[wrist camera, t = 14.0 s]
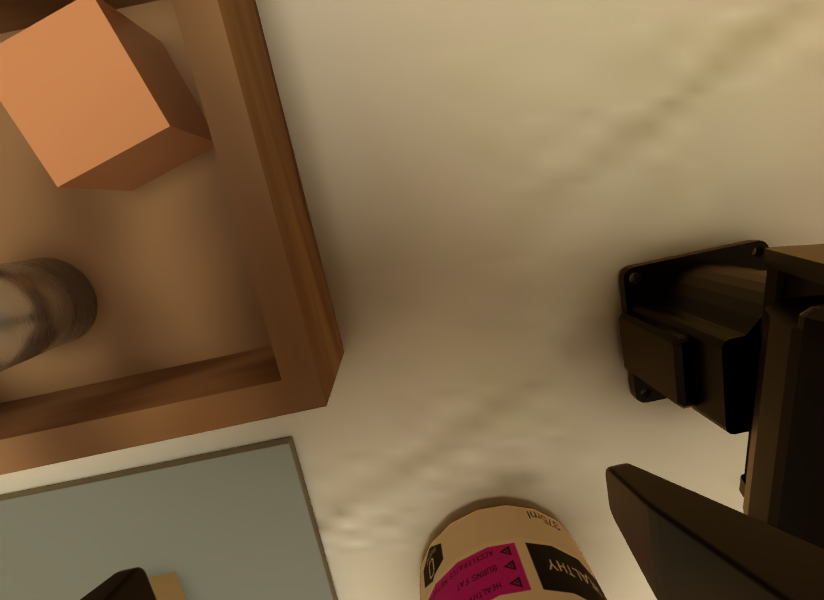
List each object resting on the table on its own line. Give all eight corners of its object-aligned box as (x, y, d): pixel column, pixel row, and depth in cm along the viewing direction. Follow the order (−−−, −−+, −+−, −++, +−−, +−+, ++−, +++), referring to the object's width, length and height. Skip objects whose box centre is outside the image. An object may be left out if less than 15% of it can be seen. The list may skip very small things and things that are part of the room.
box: (244, -43, 17) (174, -161, 11) (343, 352, 20) (326, 406, 15) (-172, 44, 17) (-439, -31, 11) (-2, 425, 20) (-144, 505, 15)
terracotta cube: (162, 42, 16) (90, -9, 13) (219, 143, 17) (170, 126, 13) (70, 93, 17) (-28, 59, 13) (132, 190, 18) (57, 186, 14)
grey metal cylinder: (79, 249, 18) (-9, 261, 14) (110, 333, 19) (35, 366, 15) (-8, 267, 18) (-120, 285, 14) (26, 350, 19) (-71, 389, 15)
